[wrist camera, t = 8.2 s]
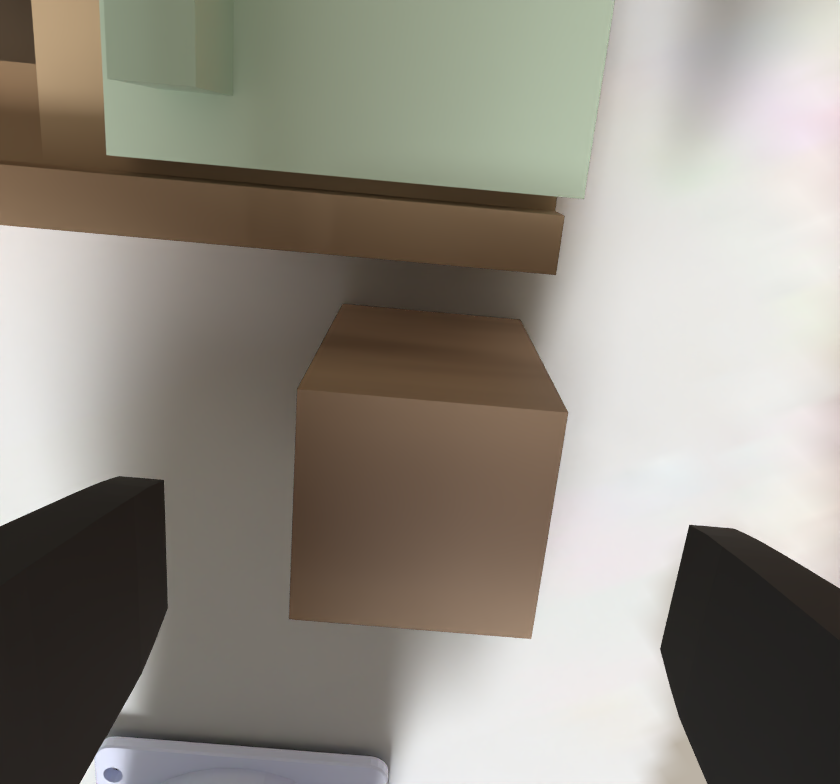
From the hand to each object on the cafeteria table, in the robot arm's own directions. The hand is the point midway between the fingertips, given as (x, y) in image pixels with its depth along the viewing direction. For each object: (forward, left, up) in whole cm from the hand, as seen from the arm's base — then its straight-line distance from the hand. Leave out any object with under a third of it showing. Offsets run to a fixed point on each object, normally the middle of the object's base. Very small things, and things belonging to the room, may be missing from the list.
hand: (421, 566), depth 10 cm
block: (0, 0, -7) cm, 7 cm away
